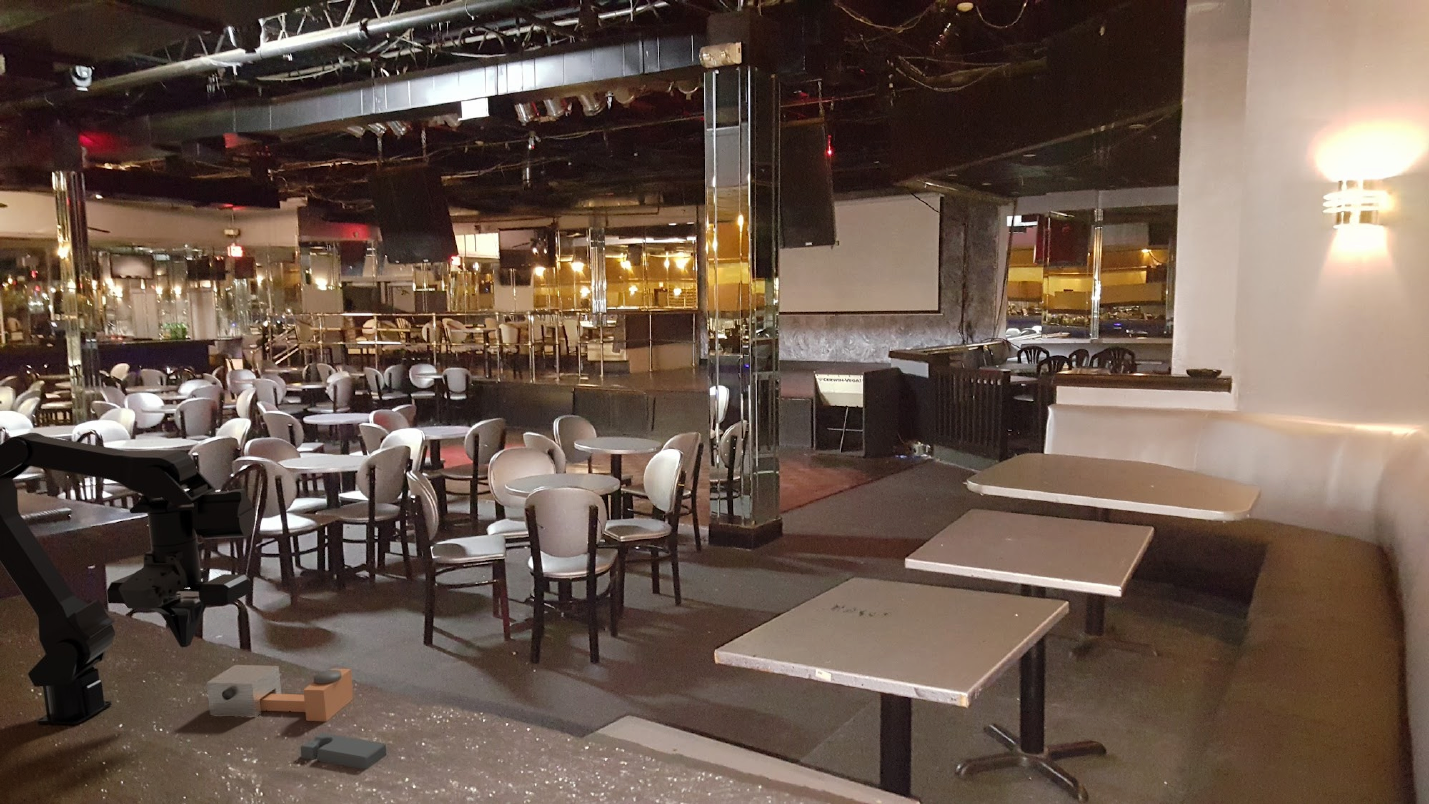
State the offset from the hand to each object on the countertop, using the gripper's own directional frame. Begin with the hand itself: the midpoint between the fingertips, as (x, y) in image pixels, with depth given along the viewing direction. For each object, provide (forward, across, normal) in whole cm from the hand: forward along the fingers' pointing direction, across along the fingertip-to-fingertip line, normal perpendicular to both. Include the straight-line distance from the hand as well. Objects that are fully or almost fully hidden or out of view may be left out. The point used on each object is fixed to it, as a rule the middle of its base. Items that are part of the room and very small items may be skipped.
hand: (185, 646), depth 131 cm
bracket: (+9, +31, -12) cm, 34 cm away
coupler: (+9, +17, 0) cm, 19 cm away
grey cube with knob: (+9, +9, 0) cm, 12 cm away
